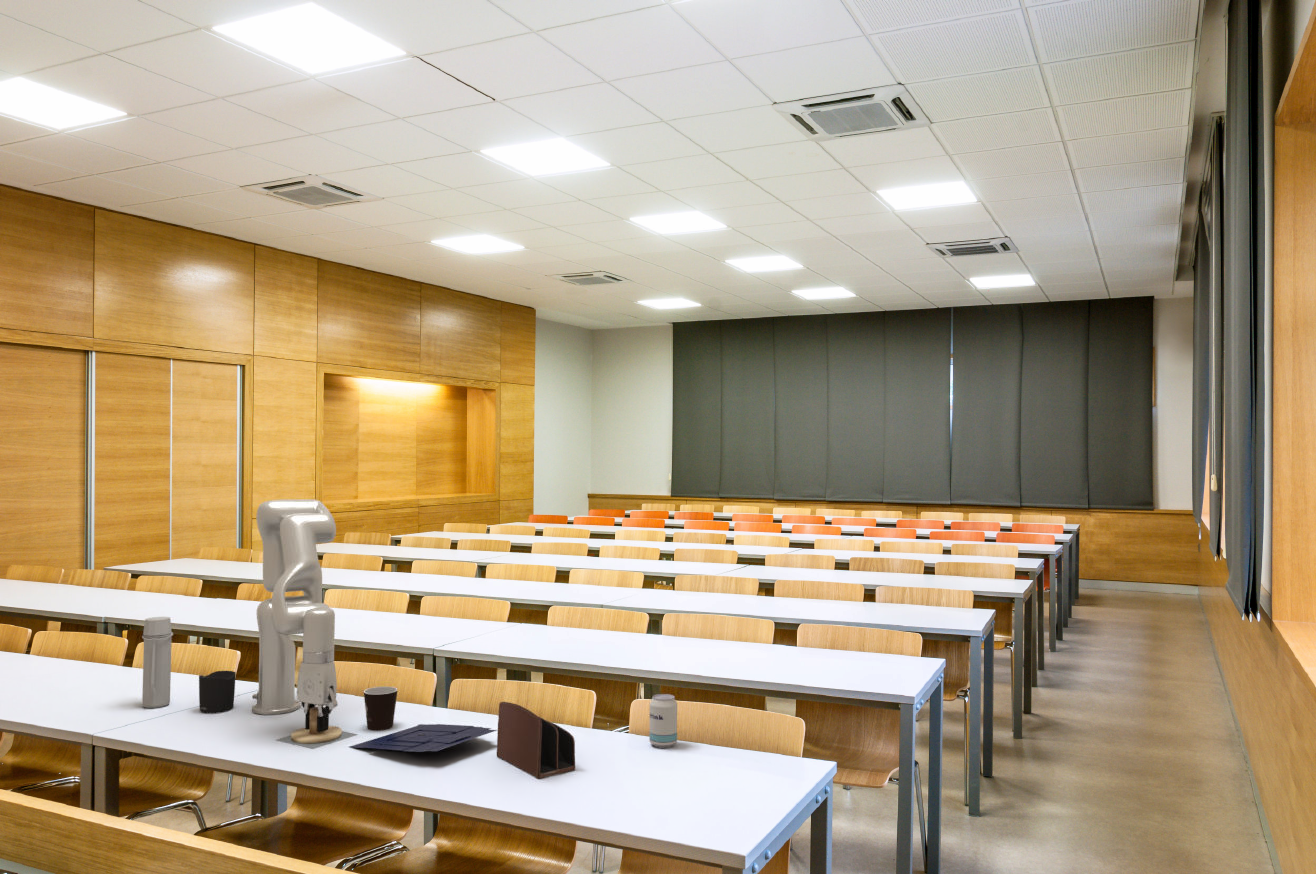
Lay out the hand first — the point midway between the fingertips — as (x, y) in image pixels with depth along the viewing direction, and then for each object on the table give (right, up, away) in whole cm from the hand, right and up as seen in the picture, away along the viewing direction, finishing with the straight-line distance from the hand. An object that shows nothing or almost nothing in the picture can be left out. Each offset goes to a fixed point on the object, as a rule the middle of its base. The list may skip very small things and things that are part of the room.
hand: (316, 728), depth 230 cm
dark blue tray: (+29, -3, -6) cm, 30 cm away
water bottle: (-58, -3, +30) cm, 65 cm away
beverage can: (+88, -3, -4) cm, 88 cm away
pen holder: (-39, -3, +27) cm, 47 cm away
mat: (0, -2, 0) cm, 2 cm away
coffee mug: (+13, -3, +11) cm, 17 cm away
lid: (0, -2, 0) cm, 2 cm away
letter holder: (+58, -2, -18) cm, 61 cm away
